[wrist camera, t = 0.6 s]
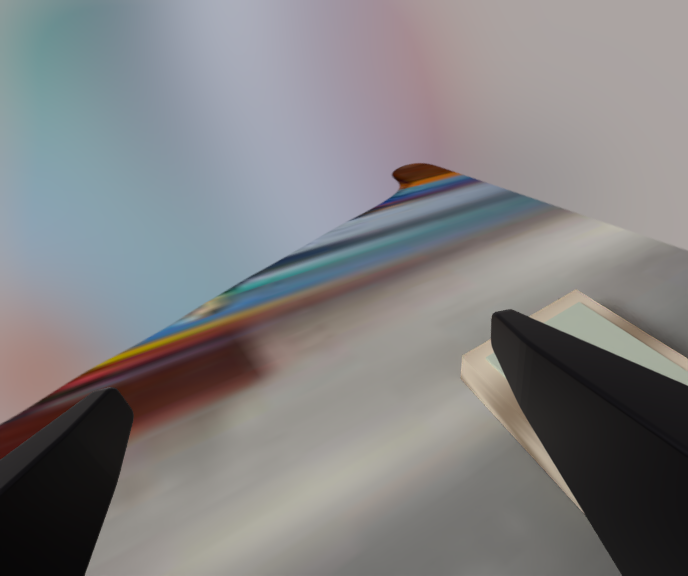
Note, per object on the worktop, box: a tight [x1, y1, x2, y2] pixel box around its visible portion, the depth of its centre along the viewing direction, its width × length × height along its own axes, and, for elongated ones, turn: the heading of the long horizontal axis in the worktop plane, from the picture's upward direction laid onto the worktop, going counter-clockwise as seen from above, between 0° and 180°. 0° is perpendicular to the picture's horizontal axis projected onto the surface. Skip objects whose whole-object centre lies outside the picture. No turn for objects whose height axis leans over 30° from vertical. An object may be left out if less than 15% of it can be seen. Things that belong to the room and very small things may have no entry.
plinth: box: [461, 289, 688, 513], centre depth 21 cm, size 10×10×3 cm
